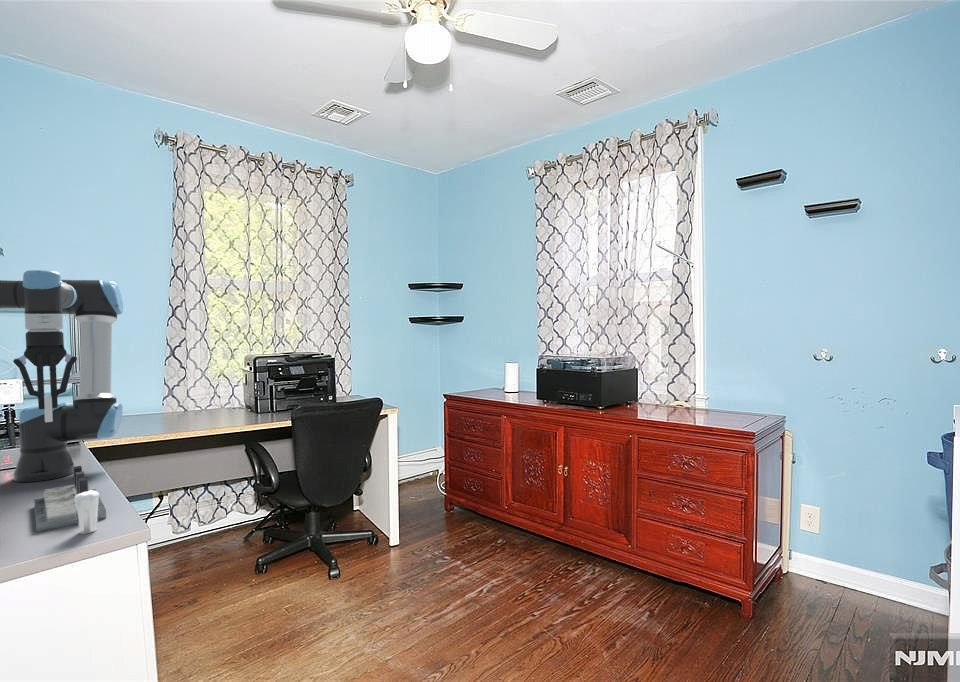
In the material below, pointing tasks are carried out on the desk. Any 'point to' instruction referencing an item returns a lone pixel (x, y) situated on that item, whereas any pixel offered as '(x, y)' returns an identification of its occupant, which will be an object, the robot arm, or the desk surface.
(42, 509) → the breaker panel
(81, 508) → the milkshake
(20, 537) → the desk surface
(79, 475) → the breaker
